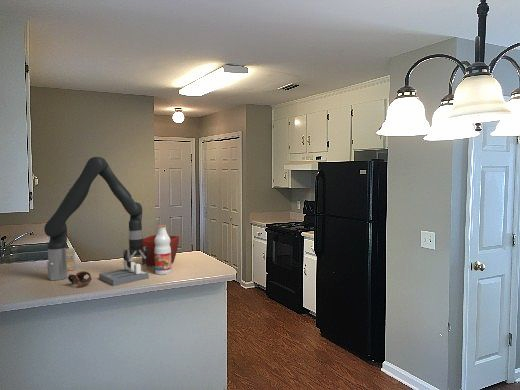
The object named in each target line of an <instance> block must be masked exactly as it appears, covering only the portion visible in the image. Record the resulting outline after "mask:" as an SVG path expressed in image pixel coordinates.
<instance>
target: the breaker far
mask: <svg viewBox="0 0 520 390" xmlns="http://www.w3.org/2000/svg"><path fill="white" fill-rule="evenodd" d="M123 269H125V270H129V268H128V267H127V261H125V260H124V259H123Z"/></svg>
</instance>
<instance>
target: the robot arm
mask: <svg viewBox="0 0 520 390" xmlns="http://www.w3.org/2000/svg"><path fill="white" fill-rule="evenodd" d="M97 176H100V177H101V178H102V179H103V180H104V181H105V182H106V183H107V185H108V187H109V189H110V191H111V192H112V194H113V195H114V197H115V198H116V199H117V200H118V201H119V203H121V205H122V206H123V208H124V209H125V212H126V213H127V214H128V215H129V221H128V249H123V261H124V260H125V261H127V267H128V268H131V262H132V261H131V260H132V259H133V258H134V257H137V256H141V264H142V266H146V258H147V257H149V251H148V247H146V246H145V247H143V239H144V236H143V227H142V225H143V223H142V218H143V206H142V204H141V203H139V202H136V201H135V199H133V197H132V194H131V192H129V190H128V189H127V188H126V187H125V186H124V185H123V184H122V182H121V181H120V180H119V179H118V177H117V176H116V175H115V173H114V171H113V170H112V168H111V167H110V165H109V163H108V162H107V160H106V159H105V158H103V157H102V156H101V157H100V156H92V157H91V158H89V159H88V160H87V161H86V164H85V165H84V168H83V170H82V172H81V173H80V175H79V176H78V178H77V179H76V181H74V183H73V185H72V186H71V187H70V189H69V190H68V192H67V193H66V194H65V197H64V198H63V200H62V201H61V203H60V205H59V206H58V208H57V209H56V211H55V212H54V213H53V215H52V216H51V217H50V219H49V220H48V221H47V222H46V223H45V225H44V230H43V231H44V234H45V235H46V236H48V237H49V241H48V243H47V256H48V257H47V259H48V261H47V262H46V265H47V266H46V267H47V279H48V280H50V281H60V280H65V279H68V271H67V258H66V248H67V242H68V227H67V224H66V223H67V221H68V219H69V218H70V216H71V215H73V214H74V213H75V212H76V211H77V210H78V209H79V208H80V207H81V205H83V203H84V201H85V199H86V198H87V196H88V194H89V192H90V188H91V185H92V184H93V182H94V180H95V179H96V178H97ZM143 249H144V251H145V255H144V254H143V252H142V251H143Z"/></svg>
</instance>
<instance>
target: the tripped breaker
mask: <svg viewBox="0 0 520 390" xmlns="http://www.w3.org/2000/svg"><path fill="white" fill-rule="evenodd" d="M134 264H136V261H131V268H129V271H130V272H134Z"/></svg>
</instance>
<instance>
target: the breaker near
mask: <svg viewBox="0 0 520 390" xmlns="http://www.w3.org/2000/svg"><path fill="white" fill-rule="evenodd" d="M141 264H142V263H141ZM141 264H140V263H135V264H134V273H135V274H140V273H141V270H142V267H141Z"/></svg>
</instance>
